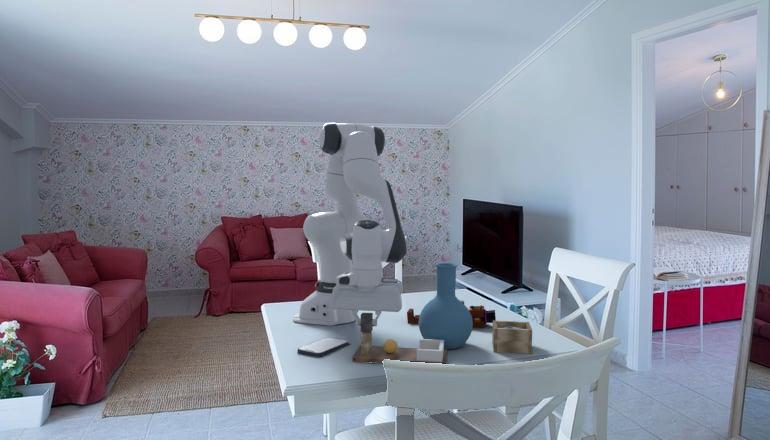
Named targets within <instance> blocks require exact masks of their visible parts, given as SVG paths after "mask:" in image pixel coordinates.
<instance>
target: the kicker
mask: <svg viewBox="0 0 770 440" xmlns="http://www.w3.org/2000/svg"><path fill="white" fill-rule="evenodd" d="M373 315H374V313H373V312H361V314H360V318H361V326H360V333H361V336H360V341H361V354H362V355H368V354H369V352H370V351H371V349H372V346H373V342H372V341H373V340H372V339H373V336H372V335H373V333H372V332H373V327H374V326H371V324H372V323H371V320H372V319H374V317H373Z"/></svg>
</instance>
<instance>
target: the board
mask: <svg viewBox="0 0 770 440" xmlns="http://www.w3.org/2000/svg"><path fill="white" fill-rule="evenodd" d="M417 349H420V347H403V346H402V347H400V346H398V347H397V350H396V351H395V352H394V353H387V352H386V351H385V350H384V345H383V346H381V345H378V346H377V345H372V349H371V351H370V352H369V354H368V355H362V354H361V345H359V346H358V347H357V349H356V351H355V353H354V354H353V356H352V358H351V363H363V362H372V363H371V364H381V363H382V361H383V360H384V359H390V360H400V361H410V362H425V363H442V364H446V365H447V358H448V349H444V353H443V360H442V362H435V361H417Z"/></svg>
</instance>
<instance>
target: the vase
mask: <svg viewBox="0 0 770 440" xmlns="http://www.w3.org/2000/svg"><path fill="white" fill-rule="evenodd" d="M434 265H435V267H436V296H434V297H433V298H432V299H430V300H429V301H428V302H427V303H426V304H425V305H424V306H423V308H422V309H421V311H420V313H419V315H420V316H419V323H418V329H419V332H420V335H421V337H422V339H435V340H444V350H454V349H459V348H461V347H463V346H464V345H465V344H466V343H467V341H468V340H469V338H470V336H471V334H472V331H473V328H472V326H473V322H472V317H471V314H470V312H469V310H468V308H469V307H467V306H466V305H465V303H464V304H463V303H462V302H461V301H462V300H461V299H459V298H458V297H457V295H456V284H457V283H456V281H457V267H458V266H459V264H457V263H453V262H439V263H435V264H434Z"/></svg>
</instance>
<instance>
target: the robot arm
mask: <svg viewBox="0 0 770 440" xmlns="http://www.w3.org/2000/svg"><path fill="white" fill-rule="evenodd" d="M318 142H319V143H318V144H319V147H320V150H321V151H322V152H323V153H325V154H327V155H329V157H328V161H327V168H326V175H325V183H324V184H325V186H324V194H325V196H326V197H327V198H328V199H329V200H331V201H332V202H333V203H334V211H320V212H316V213H313V214H310V215H308V216H306V218H305V220H304V222H303V228H302V229H303V234H304V236H305V238H306V239H307V240H308V241H309V242H310V243H311V244H313V246H314V247H315V249H316V251H317V253H318V256H319V260H320V278H319V279H317V281H316V282H315V284H314V288H315V291H313V292H312V293H310V294H309V296H307V297H305V299H304V300H302V302H301V304H300V307H299V312H298V313H296V314H294V315H293V318H292V321H293V323H300V324H310V325H319V326H331V327H332V326H336V325H341V324H348V323H352V322H355V326H360V327H361V317H359V315H358V313H359V311H363V312H364V311H365V312H375V313H374V314H375V315H376V316H375V318H373V319H372V320H371V323H372V324H371V326H373V327H378V320H379V318H380V316H381V315H382V312H387V313H389V312H390V313H398V312H401V310H402V309H403V299H402V298H403V297H402V294H403V292H404V284H403V282H402V281H401V280H398V279H397V278H385V277H384V278H383V264H382V263H387V264H397V263H399V262H401V261H402V260H403V259H404V258H405V257H406V256H407V251H408V244H407V240H406V237H405V233H404V230H403V226H402V224H401V220H400V216H399V211H398V206H397V203H396V198H395V195H394V191H393V189H392V186H391V183H390V182H389V181H388V180H387V179H385V178H384V177H383V176H382V174H381V172H380V168H379V161H378V159H379V158H378V157H379V156H380V155H382V154H383V152H384V148H385V145H386V144H385V143H386V136H385V132H384V131H383V129H381V128H380V127H377V126H373V125H372V126H370V125H366V124H360V123H346V122H345V123H344V122H343V123H339V122H338V123H336V122H327V123H324V125H322V127H321V130H320V132H319V136H318ZM357 195H361V196H364V197H366V198H368V199H372V200H373V201H375V202H377V204H379V205H380V206H381V208H382V212H383V216H384V221H385V226H386V229H382V228H381V224H380V223H379V222H377V221H375V220H371V219H370V220H368V218H367V216H366V215H365V214H364V213H363V212H362V211H361V209H360V207H359V204H358V197H357ZM341 242H343V243H344V242H345V252H343V250H342V247H341Z"/></svg>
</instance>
